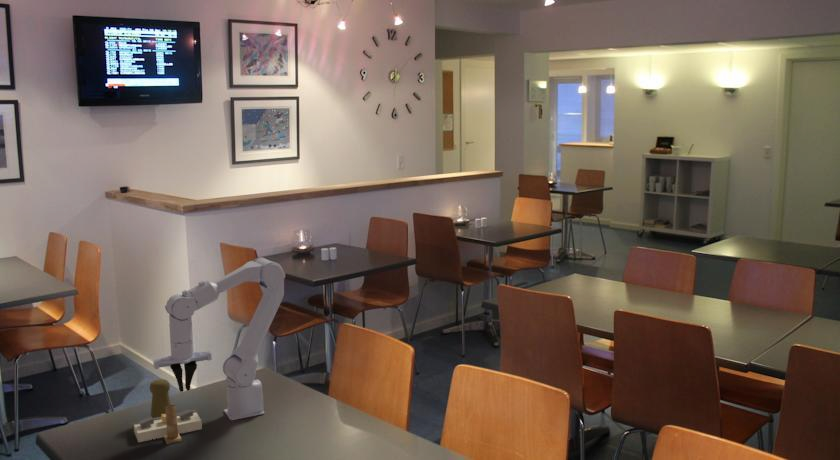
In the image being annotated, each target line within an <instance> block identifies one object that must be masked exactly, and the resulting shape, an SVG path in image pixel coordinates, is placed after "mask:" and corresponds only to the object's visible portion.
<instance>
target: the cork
mask: <svg viewBox="0 0 840 460" xmlns="http://www.w3.org/2000/svg"><path fill="white" fill-rule="evenodd" d="M170 384H171V383H170V382H169V381H168V380H167V379H166V378H165V379H164V378H163V379H162V378H161V379H160V378H159V379H155V380H153V381H152V382H151V383H150V385H149V391H150V392H151V394H152V395H151V405H150V406H151V407H150V408H151V409H150V416H152V418H157V417H161V414H166V409H165V407H166V406H168V405H172V403H171V399H170V394H169V391H170V389H171V388H170V387H171V385H170Z"/></svg>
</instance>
